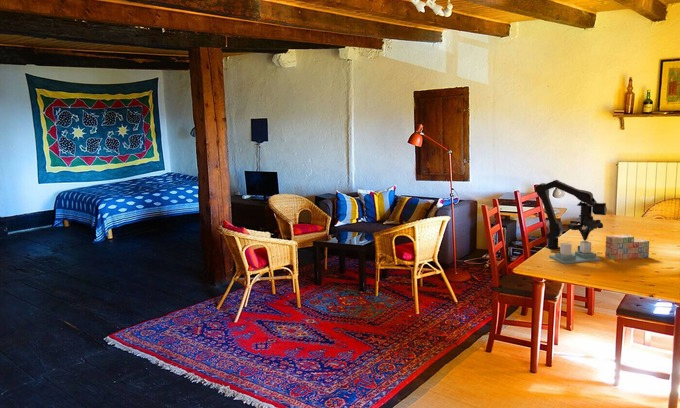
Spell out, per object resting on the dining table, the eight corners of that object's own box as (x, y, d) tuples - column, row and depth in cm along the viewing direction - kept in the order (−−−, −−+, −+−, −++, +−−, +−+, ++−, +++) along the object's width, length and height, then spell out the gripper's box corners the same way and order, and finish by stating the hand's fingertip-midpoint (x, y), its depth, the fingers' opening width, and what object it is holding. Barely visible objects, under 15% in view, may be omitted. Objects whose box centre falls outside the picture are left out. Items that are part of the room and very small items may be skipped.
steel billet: (579, 255, 298) (580, 241, 297) (586, 254, 299) (586, 240, 297) (584, 257, 294) (584, 243, 293) (590, 256, 295) (591, 242, 293)
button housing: (577, 250, 311) (577, 245, 311) (585, 250, 312) (585, 245, 312) (582, 252, 307) (583, 247, 306) (590, 252, 307) (591, 247, 307)
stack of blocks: (641, 254, 299) (642, 233, 297) (648, 257, 293) (650, 235, 291) (604, 257, 297) (605, 235, 295) (611, 260, 291) (612, 238, 289)
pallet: (549, 257, 300) (549, 241, 299) (584, 254, 304) (585, 238, 303) (563, 263, 287) (564, 247, 285) (600, 260, 290) (601, 244, 289)
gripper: (579, 217, 296) (578, 245, 299) (610, 215, 299) (608, 242, 302) (567, 214, 307) (566, 240, 310) (597, 211, 310) (596, 238, 313)
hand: (584, 240), depth 308 cm, fingers closed
